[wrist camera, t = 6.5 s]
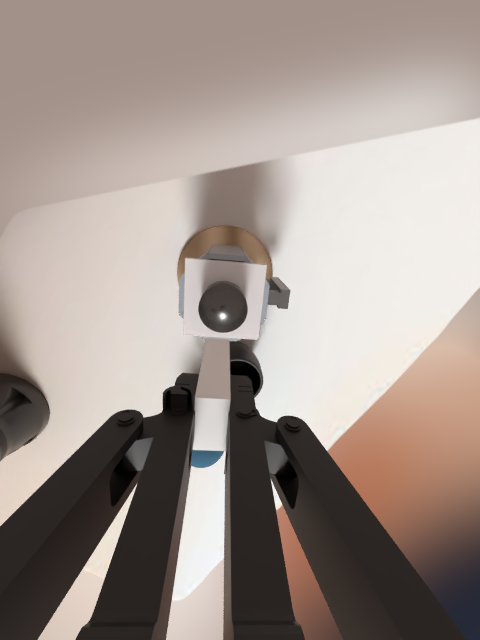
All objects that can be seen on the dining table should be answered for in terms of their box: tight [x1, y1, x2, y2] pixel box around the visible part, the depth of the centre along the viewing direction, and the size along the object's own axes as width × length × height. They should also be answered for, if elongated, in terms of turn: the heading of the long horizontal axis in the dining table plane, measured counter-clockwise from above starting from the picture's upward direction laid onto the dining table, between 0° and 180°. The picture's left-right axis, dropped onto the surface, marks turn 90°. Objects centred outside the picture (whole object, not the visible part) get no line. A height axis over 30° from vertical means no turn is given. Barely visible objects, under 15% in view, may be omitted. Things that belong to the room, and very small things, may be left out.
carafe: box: [179, 244, 290, 341], centre depth 39 cm, size 13×10×17 cm
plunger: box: [198, 259, 248, 333], centre depth 34 cm, size 8×8×12 cm
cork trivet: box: [177, 226, 272, 283], centre depth 47 cm, size 16×16×1 cm
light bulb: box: [191, 449, 224, 468], centre depth 51 cm, size 8×8×12 cm
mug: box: [229, 342, 263, 398], centre depth 48 cm, size 8×12×10 cm
